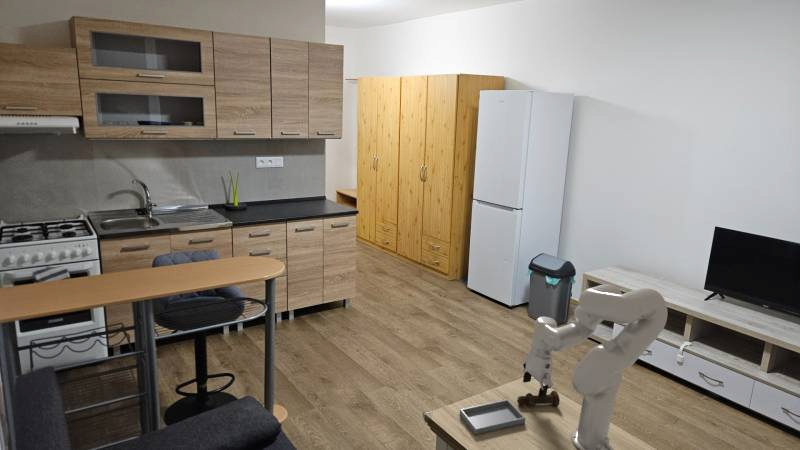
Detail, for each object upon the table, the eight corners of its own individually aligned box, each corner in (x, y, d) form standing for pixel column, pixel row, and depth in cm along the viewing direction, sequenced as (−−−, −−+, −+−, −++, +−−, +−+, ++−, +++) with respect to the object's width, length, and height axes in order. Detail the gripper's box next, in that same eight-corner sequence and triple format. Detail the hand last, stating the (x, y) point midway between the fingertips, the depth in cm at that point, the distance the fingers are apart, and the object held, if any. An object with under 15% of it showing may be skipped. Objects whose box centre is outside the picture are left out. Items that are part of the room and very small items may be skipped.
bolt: (516, 408, 197) (555, 406, 199) (521, 409, 192) (560, 407, 194) (515, 392, 198) (553, 390, 200) (519, 393, 194) (558, 391, 195)
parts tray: (524, 423, 185) (525, 417, 185) (475, 435, 178) (475, 429, 177) (507, 404, 195) (507, 399, 195) (459, 415, 188) (460, 409, 187)
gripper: (564, 361, 186) (556, 401, 191) (536, 336, 201) (529, 374, 206) (547, 364, 183) (539, 405, 188) (519, 338, 198) (512, 377, 203)
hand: (534, 389), depth 197 cm, fingers open, 9 cm apart
